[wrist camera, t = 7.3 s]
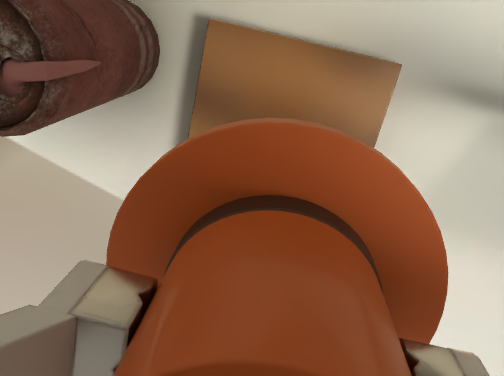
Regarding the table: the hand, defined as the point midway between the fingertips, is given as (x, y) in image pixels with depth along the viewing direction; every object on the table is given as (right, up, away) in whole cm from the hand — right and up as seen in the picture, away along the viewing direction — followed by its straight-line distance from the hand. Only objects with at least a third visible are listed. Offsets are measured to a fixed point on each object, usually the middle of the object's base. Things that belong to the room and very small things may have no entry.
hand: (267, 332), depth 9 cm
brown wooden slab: (+2, +8, +21) cm, 23 cm away
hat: (0, +1, +2) cm, 2 cm away
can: (-9, +12, +21) cm, 26 cm away
